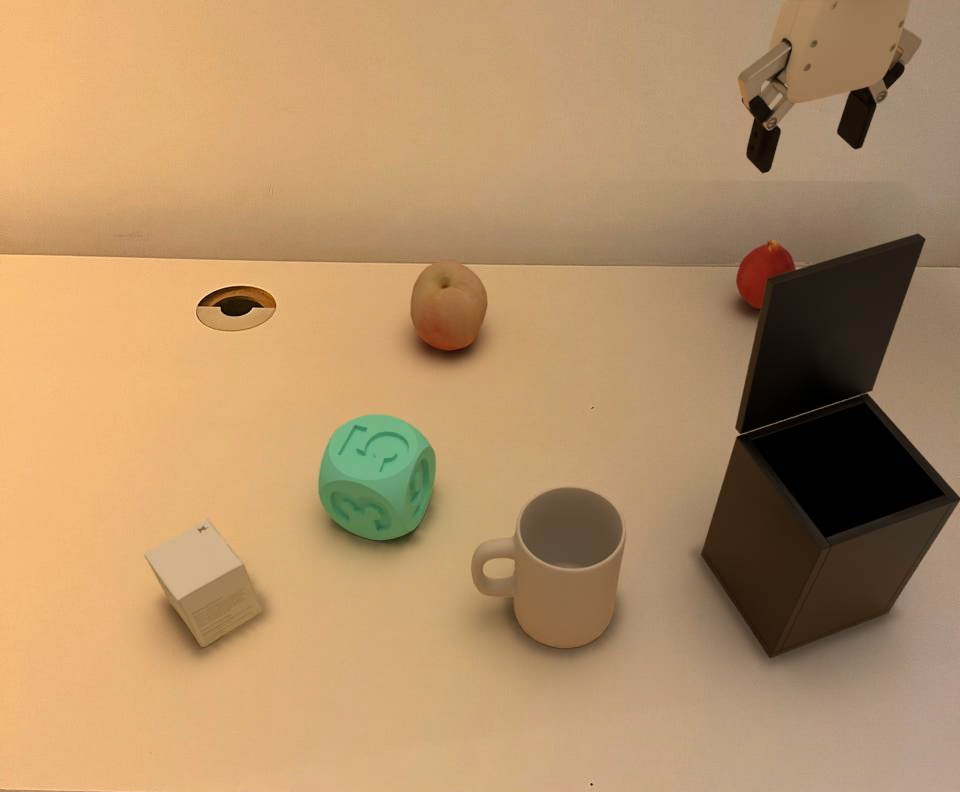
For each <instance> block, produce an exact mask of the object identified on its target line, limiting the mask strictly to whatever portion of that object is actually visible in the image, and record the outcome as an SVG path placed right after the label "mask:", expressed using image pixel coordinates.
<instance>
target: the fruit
mask: <svg viewBox="0 0 960 792" xmlns="http://www.w3.org/2000/svg"><path fill="white" fill-rule="evenodd" d="M488 303H489V302H488V293H487V290H486V287H485V286H484V283H483V282H482V280H481V278H480V277H479V276H478V275H477V274H476V272H474V271H473V270H472V269H471V268H469V267H468V266H466V265H464V264H462V263H460V262H457V261H454V260H450V259H449V260H447V259H445V260H440V261H436V262H434V263H432V264H430V265H428V266H426V267H425V268H424V269H423V270H422V271H421V272H420V274H419V275H418V277H417V278H416V280H415V282H414V284H413V286H412V292H411V297H410V318H411V321H412V324H413V327H414V330H415V331H416V333H417V334H418V336H419V337H420V338H421V339H422V341H424V342H425V343H426V344H428V345H429V346H431V347H434V348H435V349H439V350H442V351H456V350H459V349H464V348H466V347H468V346H469V345H471V344H473V342H474V341H475V340H476V338H477V336H478V334H479V331H480V330H481V327H482V326H483V323H484V320H485V317H486V314H487V310H488V305H489V304H488Z"/></svg>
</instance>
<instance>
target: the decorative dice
mask: <svg viewBox="0 0 960 792" xmlns="http://www.w3.org/2000/svg"><path fill="white" fill-rule="evenodd" d="M436 469H437V458H436V452H435V450H434V448H433V447H432V444H431V442H430V441H429V440H428V438H426V436H425V435H424V434H423V432H422V431H420V430H419V429H418V428H417V427H416V426H414V425H412V424H411V423H409V422H407V421H405V420H404V419H402V418H400V417H396V416H392V415H389V414H379V413H377V414H366V415H361V416H357V417H355V418H353V419H350V420H349V421H346V422H345V423H344V424H342V425H341V426H339V427H338V428H336V429H335V431H334V432H333V434H331V436H330V438H329V439H328V441H327V444H326V446H325V449H324V452H323V454H322V457H321V461H320V466H319V470H318V471H319V473H318V482H317V483H318V484H317V485H318V487H317V488H318V489H317V490H318V496H319V500H320V503H321V505H322V507H323V509H324V510H325V511H326V513H327V515H329V517H330V518H331V519H332V520H333V521H334V522H335V523H337V524H338V525H339V526H340V527H342V528H343V529H345V530H346V531H348V532H349V533H352V534H353V535H356V536H358V537H361V538H365V539H368V540H372V541H387V540H388V541H389V540H392V539H397V538H399V537H402V536H403V537H404V536H405V535H407V534H409V533H411V532H412V531H414V530H415V529H416V528H417V527H418V526H419V525H420V523H421V521H422V520H423V518H424V516H425V514H426V512H427V509H428V506H429V503H430V500H431V497H432V493H433V489H434V486H435V480H436V471H437V470H436Z"/></svg>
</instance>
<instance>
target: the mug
mask: <svg viewBox="0 0 960 792" xmlns="http://www.w3.org/2000/svg"><path fill="white" fill-rule="evenodd" d="M626 527H627V526H626V522H625V518H624V516H623V514H622V512H621V511H620V509H619V507H618V506H617V505H616V504H615V503H614V502H613V501H612V499H610V498H609V497H607V496H606V495H604V494H602V493H600V492H599V491H596V490H593V489H590V488H588V487H583V486H576V485H564V486H562V485H561V486H556V487H552V488H549V489H546V490H543V491H540V492H539V493H537V494H536V495H534V496H533V497H531V498H530V499H529V500H528V501H527V502H526V503H525V504H524V505H523V506H522V508H521V509H520V512H519V513H518V516H517V519H516V524H515V531H514V534H513V535H512V536H508V537H502V538H493V539H489V540H486V541H484V542H481V543H480V544H479V545H477V547H476V549H475V550H474V552H473V555H472V558H471V565H470V572H471V579H472V582H473V585H474V586H475V588H476V590H477V591H478V592H479V593H480V594H482V595H483V596H487V597H492V598H493V597H494V598H497V597H498V598H513V612H514V615H515V618H516V620H517V622H518V625H519V626H520V627H521V629H522V630H523V631H524V633H526V634H527V635H528V636H529V637H530V638H531V639H533V640H534V641H536V642H538V643H539V644H542V645H545V646H548V647H552V648H558V649H573V648H578V647H582V646H585V645H588V644H590V643H591V642H593V641H595V640H596V639H598V638H599V637H600V636H602V634H603V633H604V632H605V631H606V629H607V628H608V627H609V625H610V623H611V621H612V618H613V614H614V611H615V603H616V596H617V591H618V586H619V585H618V584H619V579H620V573H621V568H622V561H623V557H624V551H625V545H626V539H627V528H626ZM495 559H496V560H497V559H508V560H513V561H514V570H513V574H512V575H510V576H508V577H503V578H494V577H493V578H492V577H489V576H487V575H486V574H485V572H484V566H485V564H486V563H487V562H489V561H491V560H495Z"/></svg>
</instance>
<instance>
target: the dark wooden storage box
mask: <svg viewBox="0 0 960 792" xmlns="http://www.w3.org/2000/svg"><path fill="white" fill-rule="evenodd" d="M959 503H960V495H958V493H957V492H956V491H955V490H954V489H953V488H952V486H950V485H949V483H948V482H947V481H946V480H945V478H943V476H941V474H940V473H939V472H938V471H937V470H936V469H935V467H934V466H933V465H932V464H931V463H930V462H929V461H928V460H927V459H926V458H925V456H924V455H923V454H922V453H921V452H920V451H919V449H918V448H917V447H916V446H915V445H914V443H912V442H911V441H910V439H909V438H908V437H907V436H906V435H905V434H904V432H902V430H901V429H900V427H898V426H897V425H896V424H895V422H894V421H893V420H892V419H891V418H890V417H889V416H888V414H887V413H886V412H885V411H884V410H883V409H882V408H881V407H880V405H878V403H877V402H876V401H875V400H874V399H873V398H872V397H871V395H870V394H869V392H867V393H864V394H861V395H858V396H855V397H852V398H849V399H846V400H843V401H840V402H837V403H834V404H831V405H828V406H825V407H822V408H819V409H816V410H813V411H810V412H807V413H804V414H801V415H798V416H795V417H792V418H789V419H786V420H783V421H780V422H777V423H774V424H771V425H768V426H765V427H762V428H759V429H755V430H752V431H749V432H746V433H743V434H739V435H736V436H735V440H734V443H733V446H732V450H731V454H730V457H729V460H728V464H727V466H726V470H725V474H724V477H723V479H722V483H721V487H720V490H719V493H718V496H717V500H716V504H715V507H714V509H713V512H712V517H711V520H710V524H709V527H708V530H707V533H706V537H705V540H704V544H703V547H702V549H701V552H700V556H701V557H702V558H703V560H704V561H705V563H706V565H707V566H708V568H709V569H710V571H711V572H712V574H713V576H715V579H716V580H717V581H718V583H719V584H720V587H722V589H723V590H724V592H725V593H726V595H727V596H728V598H729V599H730V601H731V602H732V603H733V605H734V607H735V609H736V610H737V611H738V613H739V614H740V616H741V617H742V619H743V620H744V622H745V623H746V625H747V626H748V628H749V629H750V631H751V632H752V634H753V636H754V637H755V638H756V640H757V641H758V643H759V644H760V646H761V648H763V650H764V652H765V653H766V655H767V656H768V658H769V659H772V658H774V657H777V656H779V655H782V654H784V653H785V654H786V653H787V652H790V651H792V650H796V649H798V648H800V647H804V646H806V645H808V644H811V643H813V642H816V641H819V640H821V639H824V638H827V637H829V636H832V635H834V634H837V633H840V632H842V631H845V630H848V629H850V628H853V627H856V626H858V625H861V624H863V623H865V622H869V621H871V620H874V619H876V618H878V617H881V616H884V615H887V614H889V613H890V612H891V610H892V608H893V607H894V605H895V604H896V602H897V600H898V599H899V597H900V595H901V594H902V592H903V591H904V590H905V588H906V586H907V585H908V583H909V581H910V580H911V579H912V577H913V575H914V574H915V572H916V571H917V569H918V568H919V566H920V564H922V561H923V559H925V557H926V556H927V553H928V552H929V550H930V548H931V547H932V545H933V544H934V542H935V541H936V539H937V538H938V536H939V535H940V533H941V531H942V530H943V529H944V527H945V525H946V524H947V522H948V520H949V519H950V517H951V516H952V514H953V513H954V511H955V510H956V508H957V507H958V505H959Z"/></svg>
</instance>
